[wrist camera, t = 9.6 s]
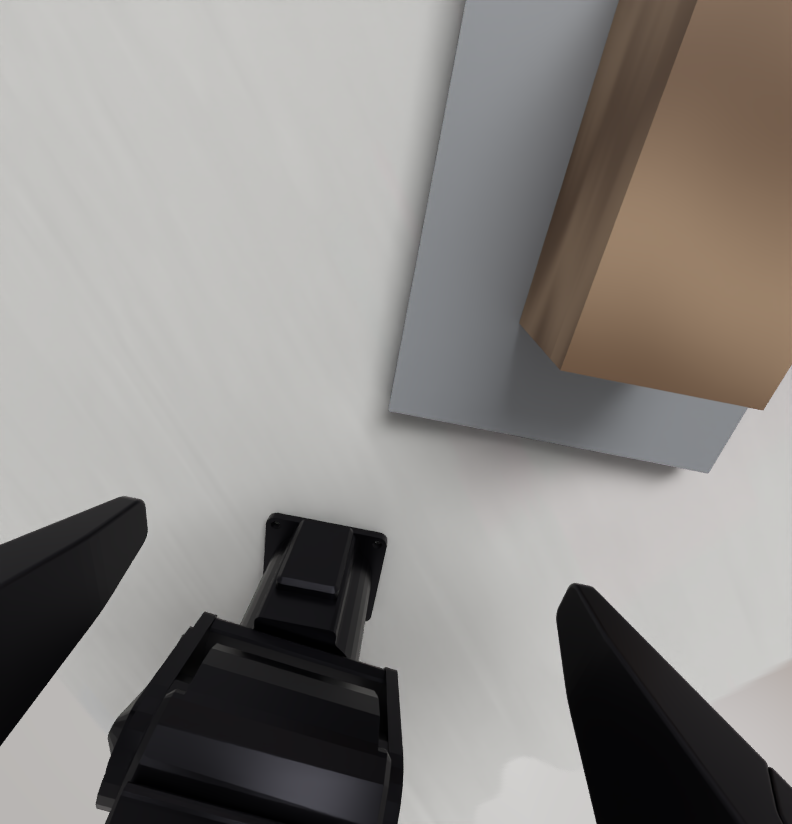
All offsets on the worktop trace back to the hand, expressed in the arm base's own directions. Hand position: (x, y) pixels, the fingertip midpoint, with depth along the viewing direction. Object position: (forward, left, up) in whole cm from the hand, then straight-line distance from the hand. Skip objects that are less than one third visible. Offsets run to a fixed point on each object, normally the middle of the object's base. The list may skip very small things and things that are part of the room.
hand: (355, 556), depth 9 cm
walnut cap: (+9, -7, -10) cm, 15 cm away
